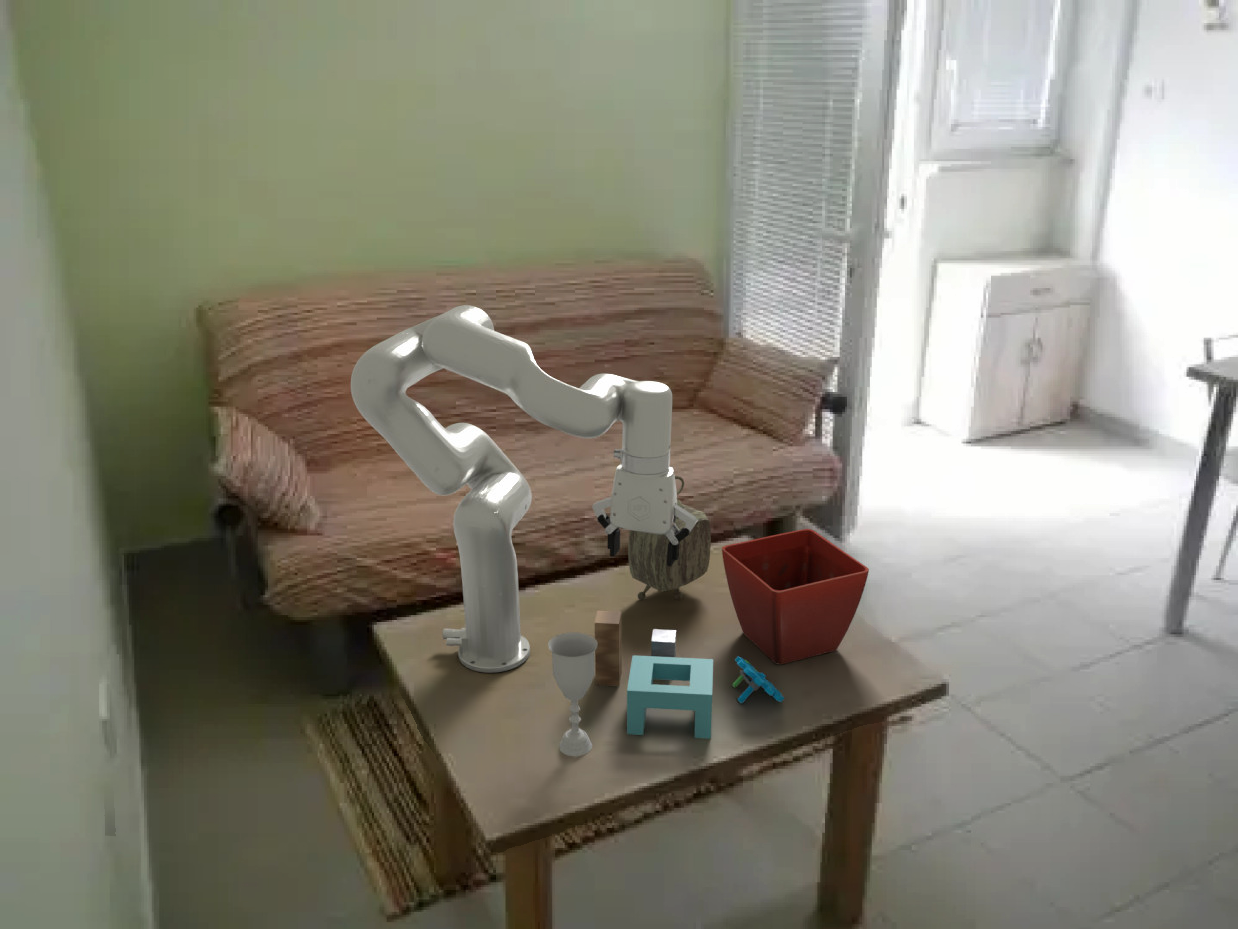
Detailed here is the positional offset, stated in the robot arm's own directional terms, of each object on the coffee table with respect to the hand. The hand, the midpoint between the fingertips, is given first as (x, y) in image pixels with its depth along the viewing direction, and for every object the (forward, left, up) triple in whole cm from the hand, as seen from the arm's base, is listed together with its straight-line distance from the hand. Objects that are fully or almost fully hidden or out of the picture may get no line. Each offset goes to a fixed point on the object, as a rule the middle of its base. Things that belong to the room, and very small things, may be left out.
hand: (642, 558), depth 168 cm
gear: (+19, -5, -23) cm, 30 cm away
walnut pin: (-6, -2, -22) cm, 23 cm away
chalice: (-9, -20, -23) cm, 32 cm away
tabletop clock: (+3, +28, -23) cm, 36 cm away
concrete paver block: (+3, +3, -22) cm, 23 cm away
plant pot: (+25, +13, -23) cm, 37 cm away
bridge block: (+5, -12, -22) cm, 26 cm away
